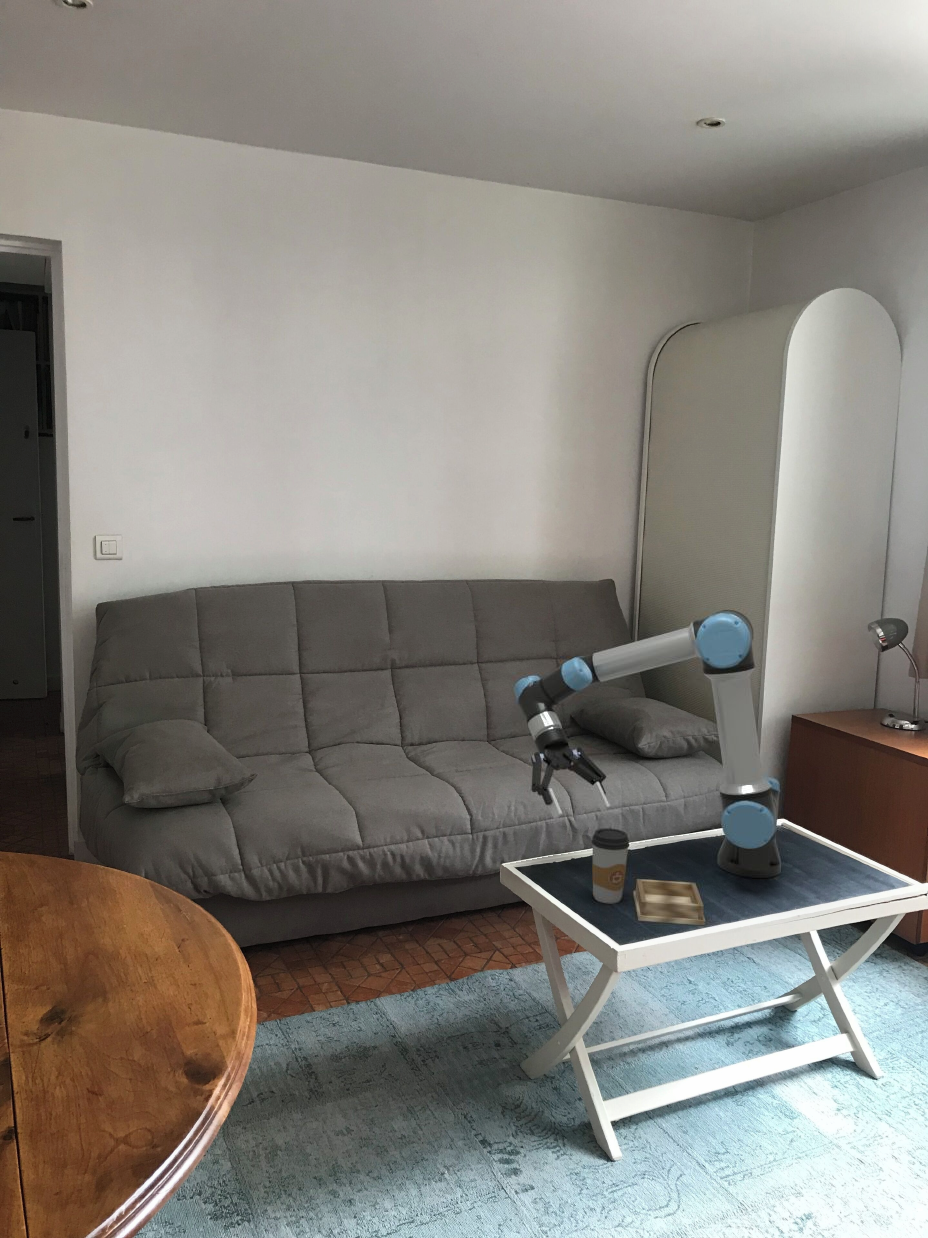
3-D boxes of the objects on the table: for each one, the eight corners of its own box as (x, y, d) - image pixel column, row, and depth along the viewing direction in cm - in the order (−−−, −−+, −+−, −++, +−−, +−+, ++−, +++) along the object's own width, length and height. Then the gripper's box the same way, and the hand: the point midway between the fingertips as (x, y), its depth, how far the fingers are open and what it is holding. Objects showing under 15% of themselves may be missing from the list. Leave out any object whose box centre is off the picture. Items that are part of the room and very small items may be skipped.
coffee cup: (601, 908, 218) (604, 842, 216) (581, 893, 225) (585, 829, 223) (633, 903, 221) (637, 838, 219) (613, 889, 228) (616, 826, 227)
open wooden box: (695, 899, 224) (697, 882, 224) (705, 925, 210) (706, 907, 210) (633, 895, 225) (634, 878, 225) (638, 920, 212) (639, 902, 211)
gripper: (582, 738, 250) (617, 813, 239) (498, 747, 238) (530, 827, 227) (596, 722, 245) (632, 798, 234) (511, 730, 232) (544, 811, 221)
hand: (582, 812), depth 230 cm, fingers open, 13 cm apart
